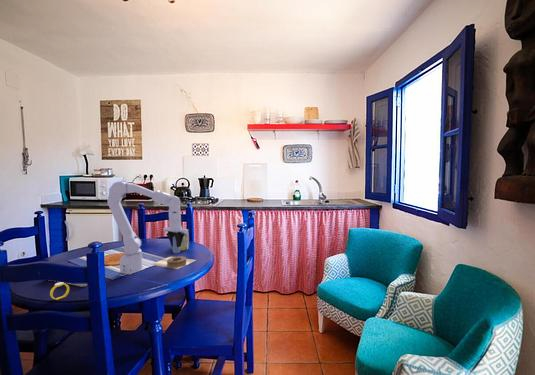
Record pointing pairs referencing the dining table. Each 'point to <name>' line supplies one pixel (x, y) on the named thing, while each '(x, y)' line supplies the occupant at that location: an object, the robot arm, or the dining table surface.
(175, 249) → the peg
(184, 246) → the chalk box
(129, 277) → the dining table surface
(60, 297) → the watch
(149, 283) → the dining table surface
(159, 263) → the board
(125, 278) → the dining table surface
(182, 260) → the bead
